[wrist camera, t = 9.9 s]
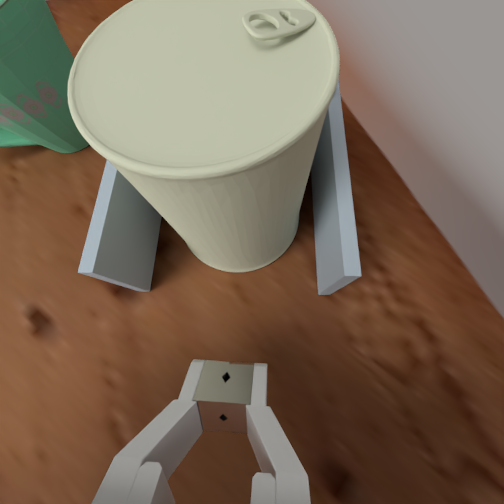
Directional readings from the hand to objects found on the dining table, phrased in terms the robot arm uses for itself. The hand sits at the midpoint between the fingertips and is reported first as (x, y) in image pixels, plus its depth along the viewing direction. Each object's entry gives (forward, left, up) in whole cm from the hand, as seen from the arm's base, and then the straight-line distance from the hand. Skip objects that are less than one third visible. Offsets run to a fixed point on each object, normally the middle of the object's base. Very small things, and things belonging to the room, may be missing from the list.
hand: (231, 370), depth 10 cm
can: (+10, +1, -6) cm, 12 cm away
